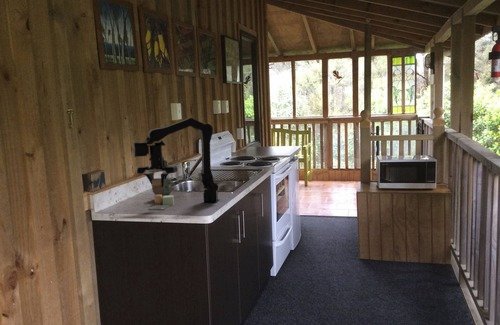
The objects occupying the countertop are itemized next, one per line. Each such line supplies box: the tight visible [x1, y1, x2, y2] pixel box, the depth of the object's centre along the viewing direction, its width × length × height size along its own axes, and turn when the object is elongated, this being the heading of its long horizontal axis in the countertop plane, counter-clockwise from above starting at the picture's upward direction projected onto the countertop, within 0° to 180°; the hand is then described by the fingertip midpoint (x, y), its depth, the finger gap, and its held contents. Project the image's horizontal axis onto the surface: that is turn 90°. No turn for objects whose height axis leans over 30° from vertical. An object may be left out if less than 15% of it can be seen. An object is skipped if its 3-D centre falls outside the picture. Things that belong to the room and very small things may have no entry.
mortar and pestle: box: [152, 176, 172, 198], centre depth 239 cm, size 11×9×12 cm
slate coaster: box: [148, 204, 171, 211], centre depth 220 cm, size 8×8×1 cm
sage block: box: [162, 194, 175, 206], centre depth 228 cm, size 5×5×4 cm
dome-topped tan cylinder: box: [153, 194, 163, 205], centre depth 228 cm, size 4×4×4 cm
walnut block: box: [151, 177, 165, 191], centre depth 218 cm, size 4×4×5 cm
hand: (158, 187), depth 218 cm, fingers closed on walnut block, 4 cm apart
